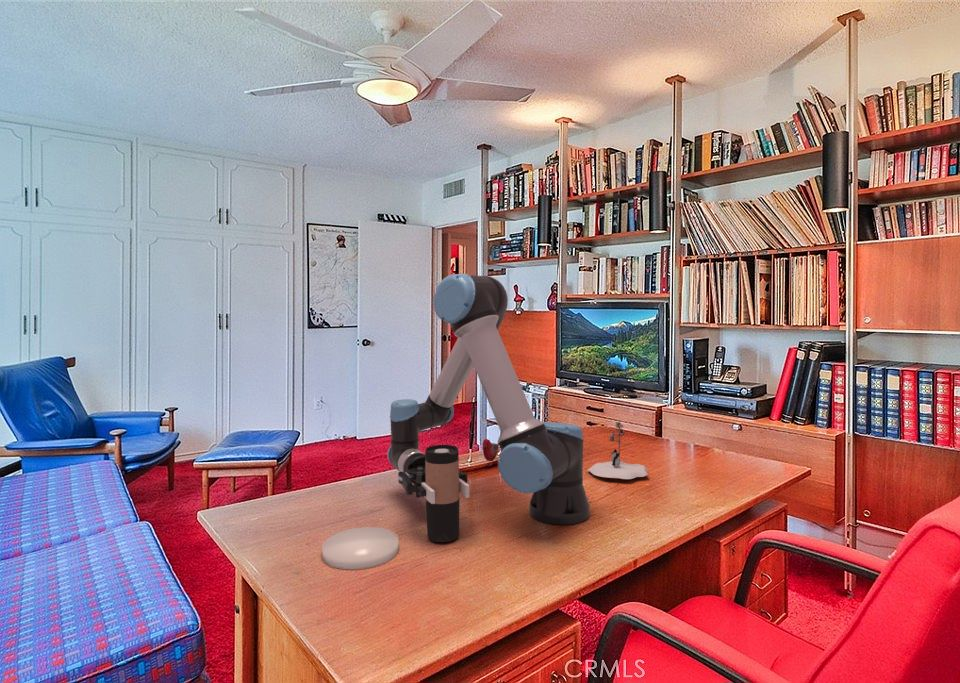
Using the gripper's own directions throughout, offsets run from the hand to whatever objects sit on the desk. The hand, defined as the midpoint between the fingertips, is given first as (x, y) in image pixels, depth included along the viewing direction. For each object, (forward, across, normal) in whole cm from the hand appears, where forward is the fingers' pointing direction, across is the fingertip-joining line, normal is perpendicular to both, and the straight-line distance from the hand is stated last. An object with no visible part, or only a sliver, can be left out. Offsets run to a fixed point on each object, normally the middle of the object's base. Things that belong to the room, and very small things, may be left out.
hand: (450, 494), depth 115 cm
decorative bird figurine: (-51, -36, -12) cm, 63 cm away
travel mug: (-5, 0, -11) cm, 12 cm away
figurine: (-23, -66, -12) cm, 72 cm away
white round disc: (-7, +18, -12) cm, 23 cm away
